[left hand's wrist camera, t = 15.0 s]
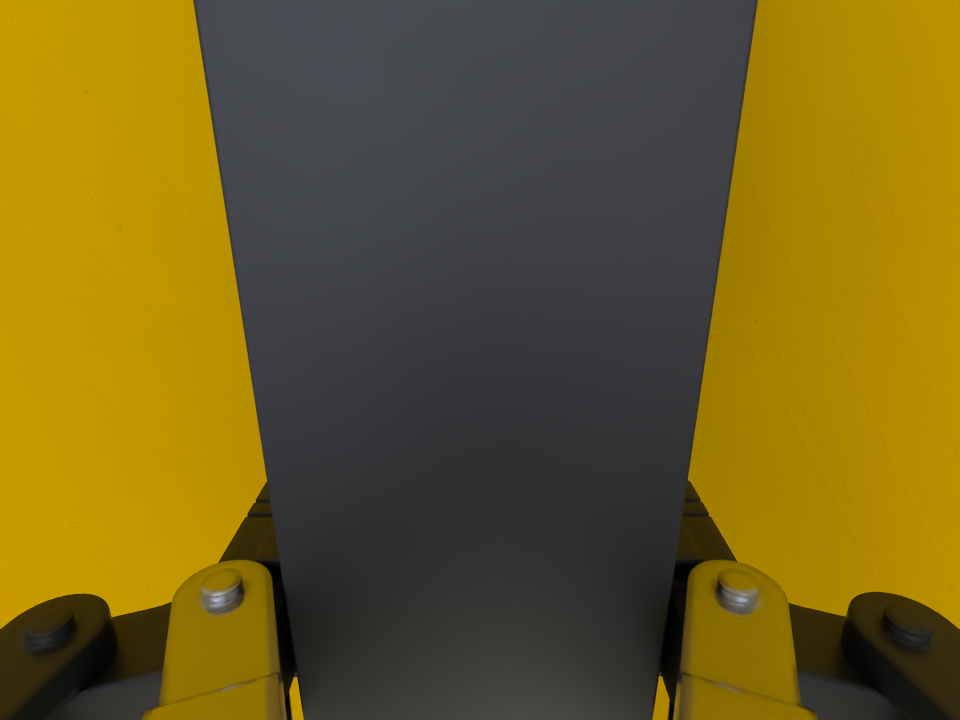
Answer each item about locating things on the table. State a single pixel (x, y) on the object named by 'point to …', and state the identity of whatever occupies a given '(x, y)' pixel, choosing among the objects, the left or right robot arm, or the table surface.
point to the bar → (476, 331)
